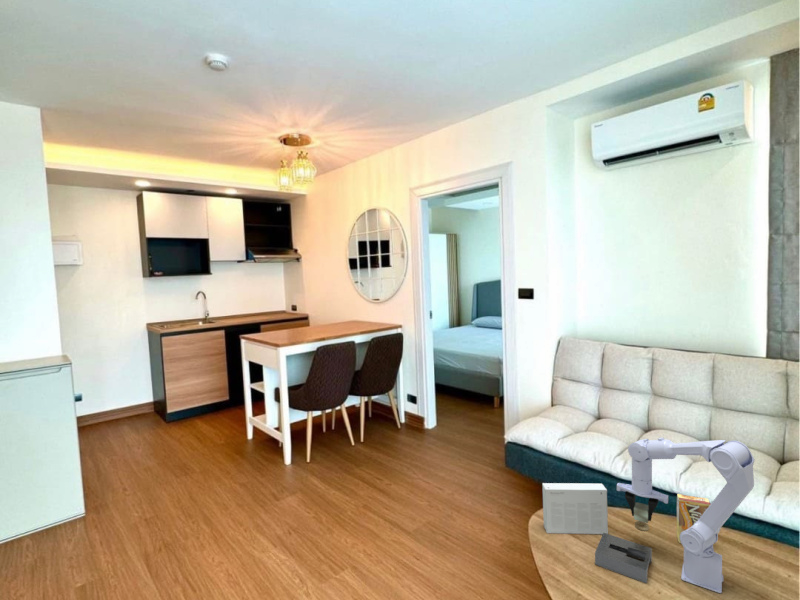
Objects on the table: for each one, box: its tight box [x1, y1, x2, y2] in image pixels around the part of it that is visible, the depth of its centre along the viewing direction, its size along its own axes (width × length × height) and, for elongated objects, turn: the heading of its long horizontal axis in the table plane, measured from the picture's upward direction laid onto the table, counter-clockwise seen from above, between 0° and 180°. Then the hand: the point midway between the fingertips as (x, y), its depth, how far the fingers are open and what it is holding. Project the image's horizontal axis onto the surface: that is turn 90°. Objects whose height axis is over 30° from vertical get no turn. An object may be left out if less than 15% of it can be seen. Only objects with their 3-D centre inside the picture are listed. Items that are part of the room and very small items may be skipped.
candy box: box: [676, 493, 711, 544], centre depth 139 cm, size 9×4×15 cm, turn 67°
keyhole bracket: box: [594, 533, 653, 584], centre depth 131 cm, size 14×12×4 cm
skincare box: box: [542, 482, 609, 535], centre depth 149 cm, size 21×6×16 cm, turn 84°
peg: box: [633, 501, 650, 532], centre depth 138 cm, size 4×4×7 cm
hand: (641, 517), depth 138 cm, fingers closed on peg, 4 cm apart
